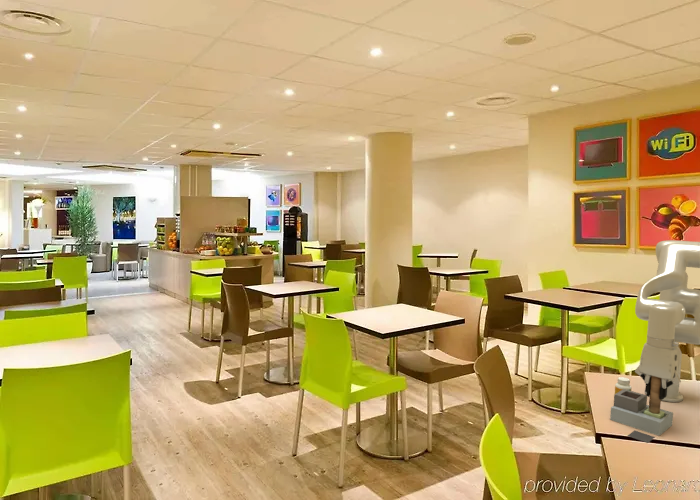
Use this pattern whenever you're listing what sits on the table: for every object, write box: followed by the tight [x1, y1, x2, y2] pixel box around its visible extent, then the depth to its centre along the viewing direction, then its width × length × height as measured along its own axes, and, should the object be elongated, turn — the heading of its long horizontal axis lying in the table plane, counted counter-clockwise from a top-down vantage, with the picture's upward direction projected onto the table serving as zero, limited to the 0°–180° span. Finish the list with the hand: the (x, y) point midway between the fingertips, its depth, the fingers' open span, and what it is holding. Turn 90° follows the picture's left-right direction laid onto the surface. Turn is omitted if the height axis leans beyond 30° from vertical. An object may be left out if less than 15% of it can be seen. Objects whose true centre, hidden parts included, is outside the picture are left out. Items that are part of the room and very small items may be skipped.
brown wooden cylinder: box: [648, 376, 662, 414], centre depth 167 cm, size 3×3×14 cm
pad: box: [627, 430, 655, 444], centre depth 161 cm, size 6×6×1 cm
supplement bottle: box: [614, 376, 632, 394], centre depth 188 cm, size 5×5×10 cm
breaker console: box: [609, 389, 674, 437], centre depth 171 cm, size 12×15×9 cm
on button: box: [644, 408, 665, 419], centre depth 168 cm, size 5×5×5 cm
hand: (655, 396), depth 167 cm, fingers closed on brown wooden cylinder, 3 cm apart
